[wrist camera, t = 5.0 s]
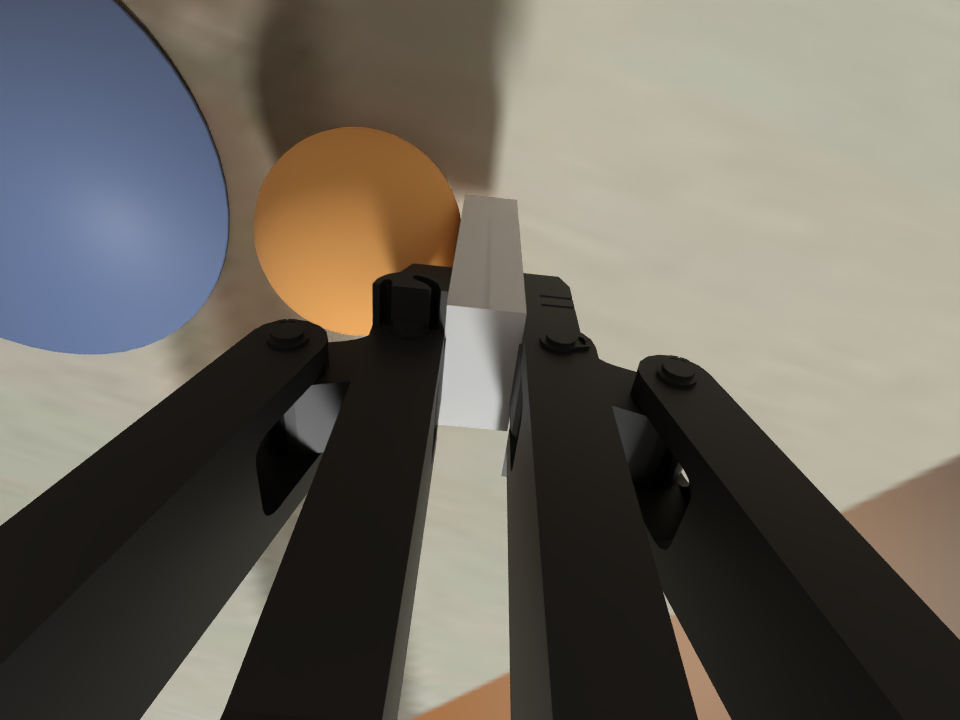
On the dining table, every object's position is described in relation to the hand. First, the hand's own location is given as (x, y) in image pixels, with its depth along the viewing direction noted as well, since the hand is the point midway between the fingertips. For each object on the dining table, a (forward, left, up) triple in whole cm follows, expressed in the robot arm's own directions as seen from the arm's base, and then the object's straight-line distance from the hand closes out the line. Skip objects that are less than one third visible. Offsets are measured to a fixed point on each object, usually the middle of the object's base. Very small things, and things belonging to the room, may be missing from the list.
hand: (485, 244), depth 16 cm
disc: (-11, +9, -2) cm, 15 cm away
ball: (-3, +2, 0) cm, 3 cm away
